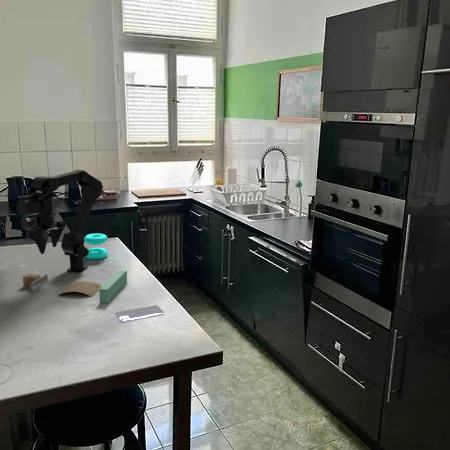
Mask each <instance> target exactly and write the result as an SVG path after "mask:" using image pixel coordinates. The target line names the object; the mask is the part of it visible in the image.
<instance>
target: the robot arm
mask: <svg viewBox="0 0 450 450" xmlns="http://www.w3.org/2000/svg"><path fill="white" fill-rule="evenodd" d="M73 183H77V185H78V186H79V187H80V196H81V199H80V203H79V205H78V209H77V212H76V214H75V217H74V221H73V223H72V227H71V230H70V231H69V232H67V233H66V232H64V234H63V236H62V240H61V241H60V243H61V245H60V247H61V249H62V251H63V254H64V255H65V256H69V268H68V269H66V272H75V273H83V272H84V271H85V270H86V269H87V268H88V267H89V266H88V265H85V258H87V257H86V256H88V254H89V249H88V248H87V247H86V246H85V243H86V242H85V241H84V238H85V237H84V232H85V229H86V226H87V223H88V220H89V218H90V214H91V211H92V208H93V205H94V202H95V201H96V200H97V199H98V198H99V197H100V196H101V194H102V192H103V189H104V185H103V182H102V181H101V180H99V179H97V178H96V177H94V176H93V175H91V174H90V173H88V172H87V171H86V170H84V169H83V170H82V169H75V170H72V171H69V172H65V173H62V174H58V175H54V176H53V175H52V176H49V175H48V176H36V177H34V178H33V181H32V183H31V185H30V188H29V189H28V191H27V193H26V195H20V196H19V199H18V201H17V203H16V204H15V205H16V206H15V207H16V210H17V212H18V214H19V215H21V216H27V215H32V214H34V217H32V218H29V217H26V218H23V219H22V220H21V226H22V227H23V228H24V229H25V230H26V238H27V239H29V240H32V241H34V242H35V244H36V246H37V249H38V250H39V253H40V254H41V255H44V254H45V252H46V248H47V243H48V239H49V236H48V234H50V239H51V244H52V247H53V248H56V247H57V245H58V243H59V240H60V238H61V235H62V233H63V231H64V229H65V228H66V221H64V220H63V219H55V216H56V215H57V212H56V211H54V198H58V195H57V194H56V193H55V191H57V190H58V189H59V188H60V187H63V186H67V185H70V184H73Z"/></svg>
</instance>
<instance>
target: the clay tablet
mask: <svg viewBox="0 0 450 450" xmlns="http://www.w3.org/2000/svg"><path fill="white" fill-rule="evenodd" d="M102 286H103V285H101V284H98V283H96V282H92V281H87V280H86V281H85V280H84V281H83V280H81V281H76V282H74V283H72V284H70V285H68V286H67V287H66V288H65V289H64V290H63V291H61V292H60V293H59V295H61V294H66V293H74V292H77V293H82V294H84V295H86V296H89V297H90V298H93V297H94V296H95V295H97V293H99V289H100V288H101V287H102Z"/></svg>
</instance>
